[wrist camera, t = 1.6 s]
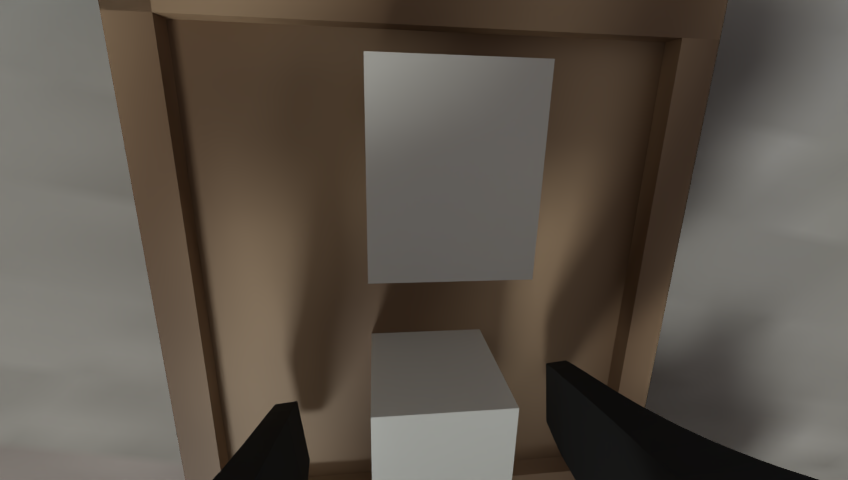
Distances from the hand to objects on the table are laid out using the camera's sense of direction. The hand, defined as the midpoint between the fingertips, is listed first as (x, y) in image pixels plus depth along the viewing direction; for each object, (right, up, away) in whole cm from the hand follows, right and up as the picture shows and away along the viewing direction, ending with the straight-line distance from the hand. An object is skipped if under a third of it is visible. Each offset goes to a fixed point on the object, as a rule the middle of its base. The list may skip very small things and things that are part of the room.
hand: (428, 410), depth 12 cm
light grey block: (0, 0, +1) cm, 1 cm away
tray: (0, +4, 0) cm, 4 cm away
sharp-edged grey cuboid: (0, +7, -1) cm, 7 cm away
